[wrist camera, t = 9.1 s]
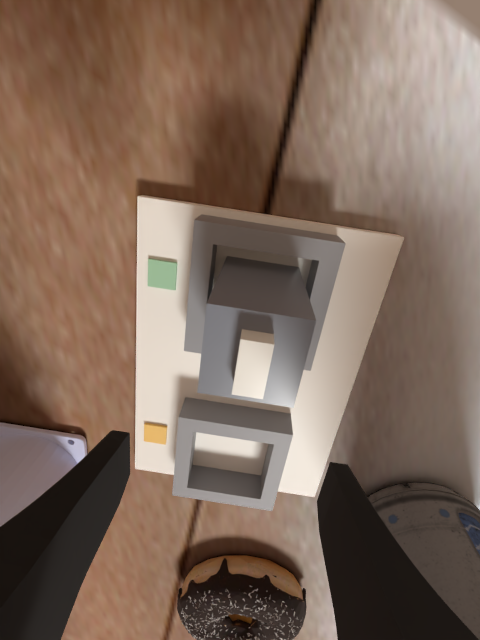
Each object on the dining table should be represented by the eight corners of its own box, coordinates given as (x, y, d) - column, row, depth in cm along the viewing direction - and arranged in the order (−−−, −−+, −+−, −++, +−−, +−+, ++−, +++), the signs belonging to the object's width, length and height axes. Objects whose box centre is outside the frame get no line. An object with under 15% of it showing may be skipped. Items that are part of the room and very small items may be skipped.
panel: (138, 460, 27) (125, 491, 24) (142, 194, 18) (122, 199, 16) (313, 488, 27) (318, 522, 24) (398, 234, 18) (420, 246, 16)
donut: (288, 620, 35) (291, 672, 32) (178, 602, 35) (168, 651, 32) (314, 559, 31) (320, 612, 27) (187, 537, 31) (176, 587, 27)
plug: (218, 321, 20) (193, 405, 13) (226, 255, 18) (202, 312, 11) (284, 331, 20) (295, 421, 13) (299, 267, 18) (319, 330, 11)
